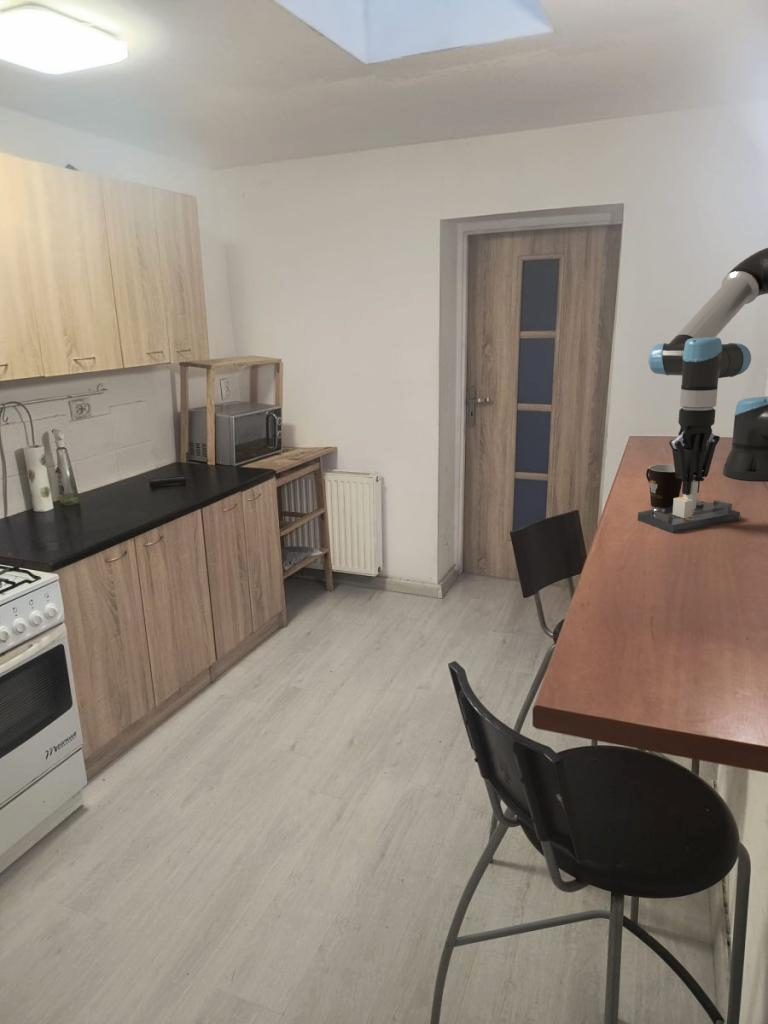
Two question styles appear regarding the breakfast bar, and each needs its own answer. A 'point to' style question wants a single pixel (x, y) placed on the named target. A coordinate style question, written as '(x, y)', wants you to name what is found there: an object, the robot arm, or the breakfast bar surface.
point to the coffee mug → (663, 485)
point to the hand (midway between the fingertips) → (689, 507)
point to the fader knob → (682, 507)
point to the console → (700, 518)
